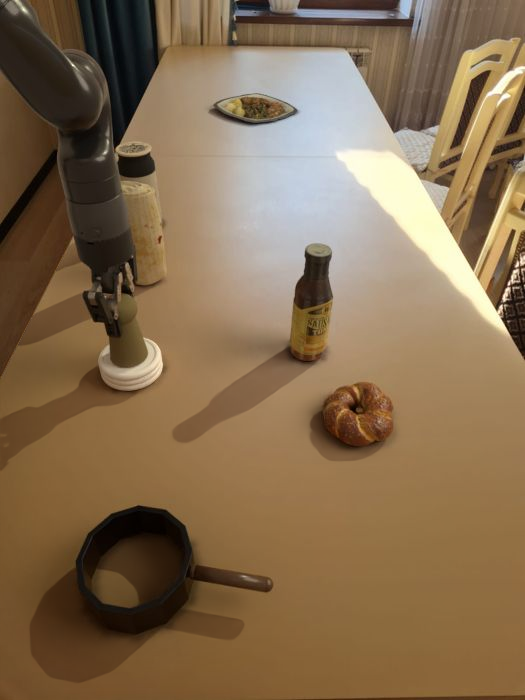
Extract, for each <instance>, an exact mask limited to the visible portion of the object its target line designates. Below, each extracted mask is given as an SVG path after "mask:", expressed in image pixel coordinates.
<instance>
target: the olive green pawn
mask: <svg viewBox="0 0 525 700" xmlns="http://www.w3.org/2000/svg"><path fill="white" fill-rule="evenodd" d="M109 296H110V297H114V294H109ZM108 306H109V309H110V310H111V311H112V306H111V304H108ZM137 314H138V304H137V301H136V300H135V297H134V298H133V297H131V296H130V295H128V294H124V293H121V302H119V303H118V316H119V319H120V323H121V328H122V332H123V334H122V336H121V337H120V338H114V337H109V336H108V345H109V346H110V360H111V361H112V363H113V364H115V365H116V366H119V367H125V368H128V367H134V366H137V365H139V364H141V363H142V362H144V361H145V359H146V358H147V356H148V349H147V347H146V344H145V341H144V338H145V337H144V336H143V333H142V331H141V328H140V327H141V326H140V324H139V322H138V319H137Z"/></svg>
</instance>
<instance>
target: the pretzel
mask: <svg viewBox="0 0 525 700" xmlns="http://www.w3.org/2000/svg"><path fill="white" fill-rule="evenodd" d="M321 407H322V408H321V412H322V414H323V422H324V427H326V429H327V430H328V432H329V433H331V434H332V435H333V436H334V437H336V438H338V439H339V440H341V441H342V442H343V443H345V444H346V445H347V444H348V445H349V446H350V445H351V446H354V447H365V446H367V445H370V444H372V443H374V442H375V441H377V442H381V441H385V440H387V439H388V438H390V436H391V435H392V434H393V432H394V421H393V419H392V418H391V417H390V415H391V414H392V413H393V410H394V404H393V400H392V399H391V398H390V397H389V396H388V395H387V394H385V393H384V392H383V391H382V390H381V388H380V387H379V386H377V385H376V384H375V383H373V382H370V381H369V382H368V381H360V382H359V381H358V382H356V383H353V384H351V385H349V384H347V385H342V386H339V387H338V388H336V389H335V391H334V392H333V393H331V394H329V395H328V396H327V397H326V398H325V399H324V400H323V402H322V405H321Z"/></svg>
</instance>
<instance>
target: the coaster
mask: <svg viewBox="0 0 525 700" xmlns="http://www.w3.org/2000/svg"><path fill="white" fill-rule="evenodd" d="M143 338H144V341H145V344H146V347H147V349H148V356H147V358H146V359H145V361H144V362H142V363H141V364H139V365H137V366H134V367H128V368H125V367H119V366H116V365H115V364H113V363H112V361H111V360H110V346H109V344H107V345H106V346H105V347H104V348H103V349H102V350H101V351H100V353H99V355H98V359H97V364H98V368H99V373H100V376H101V378H102V379H101V380H103V381H104V383H105V384H106V385H107V386H108V387H110V388H112V389H114V390H118V391H124V392H127V391H129V392H130V391H136V390H141V389H144V388H147V387H148V386H150V385H151V384H153V383H154V382H155V381H157V379H158V378H159V377H160V376H161V374H162V372H163V368H164V363H163V356H162V351H161V349H160V346H158V344H157V343H156V342H155V341H153V340H151V339H149V338H147V337H143Z"/></svg>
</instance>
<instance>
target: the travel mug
mask: <svg viewBox="0 0 525 700" xmlns="http://www.w3.org/2000/svg"><path fill="white" fill-rule="evenodd" d="M151 151H152V146H151V144H149V143H147V142H144V141H138V140H137V141H126V142H123V143H120V144H118V145H117V146H116V147H115V148H114V152H115V154H116V155H117V157H118V159H117V165H118V169H119V175H120V181H134V182H138V183H142V184H148V185H150V186H152V187H153V188H154V190H155V193H156V202H157V206H158V210H159V214H160V219H161V225H162V226H163V216H162V210H161V202H160V201H161V200H160V194H159V187H158V186H159V185H158V179H157V171H156V163H155V160H154V159H153V157H152V156H151Z"/></svg>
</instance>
